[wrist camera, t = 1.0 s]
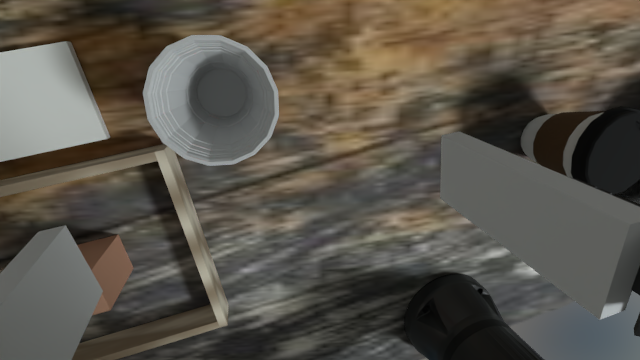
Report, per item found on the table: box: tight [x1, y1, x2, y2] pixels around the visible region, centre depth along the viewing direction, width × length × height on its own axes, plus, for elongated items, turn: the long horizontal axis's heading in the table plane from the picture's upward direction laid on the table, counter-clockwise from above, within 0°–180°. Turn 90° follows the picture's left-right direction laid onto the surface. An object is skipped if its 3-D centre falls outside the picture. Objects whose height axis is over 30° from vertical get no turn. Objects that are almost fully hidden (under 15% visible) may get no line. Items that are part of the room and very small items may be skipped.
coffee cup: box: [521, 107, 640, 195], centre depth 44 cm, size 11×11×12 cm
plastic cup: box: [143, 35, 279, 166], centre depth 33 cm, size 11×11×12 cm
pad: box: [0, 41, 110, 162], centre depth 34 cm, size 10×14×1 cm
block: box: [77, 235, 133, 315], centre depth 38 cm, size 5×5×8 cm
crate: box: [0, 144, 229, 360], centre depth 39 cm, size 24×24×4 cm
